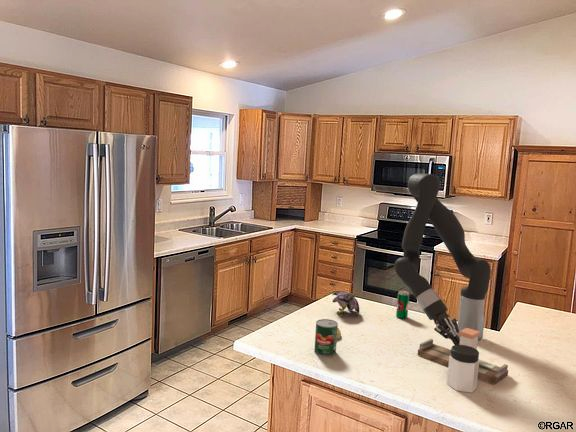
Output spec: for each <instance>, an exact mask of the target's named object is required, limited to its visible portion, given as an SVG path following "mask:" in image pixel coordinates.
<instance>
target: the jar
mask: <svg viewBox="0 0 576 432" xmlns="http://www.w3.org/2000/svg"><path fill="white" fill-rule="evenodd" d="M450 350H451V355H450V356H449V366H447V367H448V368H447V376H446V384H447V385H448V386H449V387H451V388H452V389H453V390H455V391H457V392H463V393H470V394H471V393H473V392H474V391H475V390H476V389H477V386H478V379H479V378H478V369H479V360H480V359H479V358H480V356H479V355H480V352H479V350H478V349H477V350H476V349H475V348H473V347H470V346H466V345H454V344H453V345H452V346H451V348H450Z"/></svg>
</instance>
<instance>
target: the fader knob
mask: <svg viewBox="0 0 576 432" xmlns="http://www.w3.org/2000/svg"><path fill="white" fill-rule="evenodd" d="M479 334H480V332H479V331H476V330H473V329H469V328H465V329H463V330H461V331H459V335H460V338H459V339H460V343H459V345H466V346H470V347H473V348H475V349H476V350H478V342H479V341H478V336H479Z"/></svg>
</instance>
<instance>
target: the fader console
mask: <svg viewBox="0 0 576 432" xmlns="http://www.w3.org/2000/svg"><path fill="white" fill-rule="evenodd" d="M450 355H451V348H450V349H449V348H447V347H444V346H442V345H438V344H436V343H434V339H433V338H429V339H427V340H424V341H423V342H421V343H419V349H417V356H419V357H422V358H425V359H427V360H430V361H433V362H434V363H438V364H440V365H442V366H445V367H448V366H449V356H450ZM508 366H509V365H508V364H505V363H504V364H503V365H502V366H499V365H495V364H493V363H490V362H487V361H484V360H482V359H481V360H480V359H479V369H478V378H477V379H480V380H482V381H485V382H487V383H490V384H493V385H495V386H496V385H497V384H499V383H500V382H501V381H503V380H504V379H505V378H506V377H508V375H509V370H508Z"/></svg>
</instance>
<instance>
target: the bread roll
mask: <svg viewBox="0 0 576 432" xmlns="http://www.w3.org/2000/svg"><path fill="white" fill-rule="evenodd" d="M341 332H342V331H341V329H340V328H339V327H338V329H337V340H339V339H340V338H341V336H342V333H341Z"/></svg>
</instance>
